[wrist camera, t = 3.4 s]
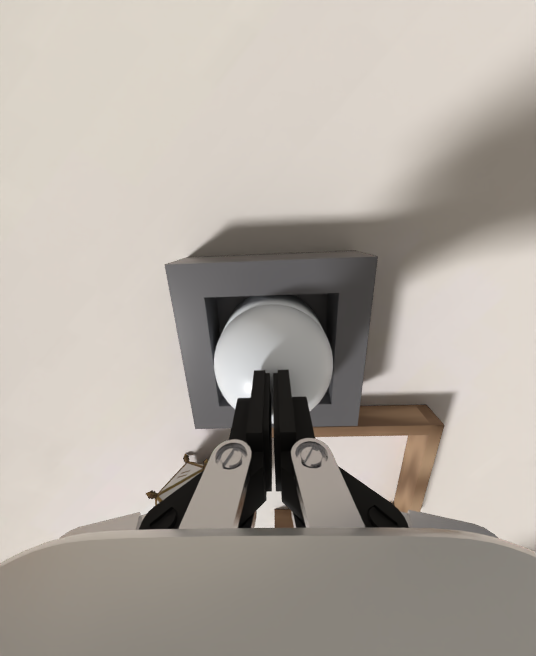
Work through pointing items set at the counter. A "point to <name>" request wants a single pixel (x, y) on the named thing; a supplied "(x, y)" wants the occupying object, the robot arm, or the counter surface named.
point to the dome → (273, 348)
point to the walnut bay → (417, 456)
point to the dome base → (274, 279)
